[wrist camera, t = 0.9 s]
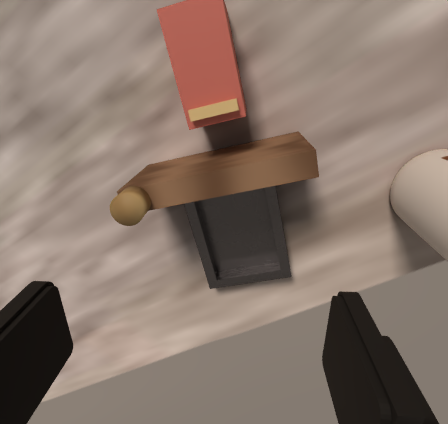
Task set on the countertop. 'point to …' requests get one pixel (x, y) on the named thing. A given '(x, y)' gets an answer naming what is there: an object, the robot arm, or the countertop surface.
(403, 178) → the milk bottle
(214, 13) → the red block
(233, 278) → the tray
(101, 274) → the countertop surface
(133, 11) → the countertop surface
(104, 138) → the countertop surface
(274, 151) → the door board
